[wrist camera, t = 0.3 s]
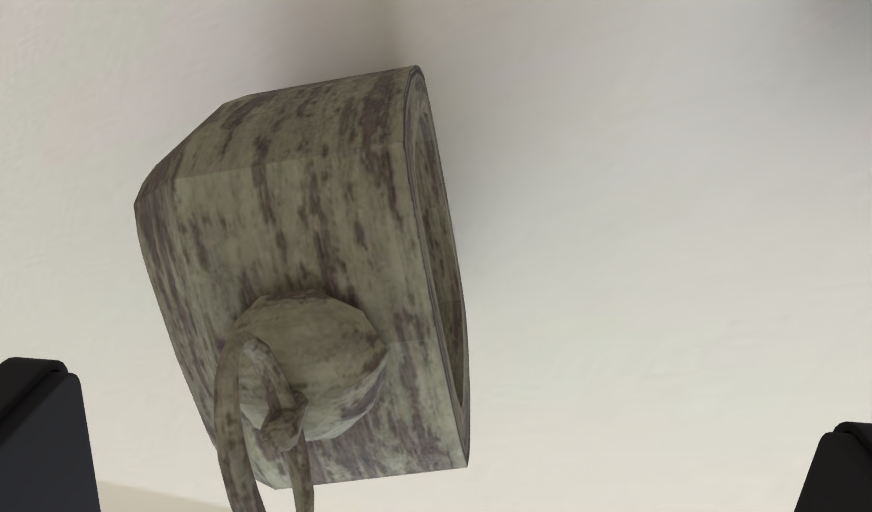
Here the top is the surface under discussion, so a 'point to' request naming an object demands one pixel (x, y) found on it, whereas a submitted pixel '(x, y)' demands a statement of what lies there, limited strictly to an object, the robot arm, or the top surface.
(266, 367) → the tabletop clock
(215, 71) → the top surface
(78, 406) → the robot arm
